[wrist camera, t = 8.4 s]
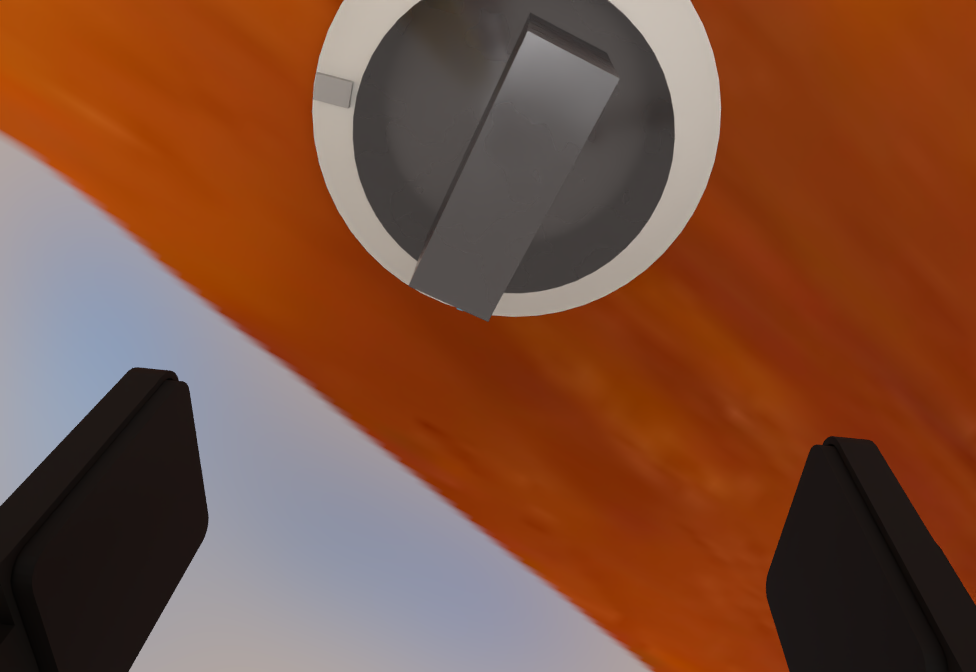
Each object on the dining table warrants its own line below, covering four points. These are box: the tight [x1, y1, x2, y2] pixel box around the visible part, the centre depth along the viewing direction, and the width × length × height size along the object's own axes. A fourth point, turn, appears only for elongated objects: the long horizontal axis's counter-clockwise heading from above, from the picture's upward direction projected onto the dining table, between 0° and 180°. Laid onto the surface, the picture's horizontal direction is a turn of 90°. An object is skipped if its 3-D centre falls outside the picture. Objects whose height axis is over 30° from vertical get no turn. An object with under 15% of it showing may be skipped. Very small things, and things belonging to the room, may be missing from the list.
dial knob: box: [353, 0, 675, 321], centre depth 27 cm, size 12×12×6 cm
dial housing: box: [312, 0, 721, 317], centre depth 31 cm, size 16×16×3 cm
